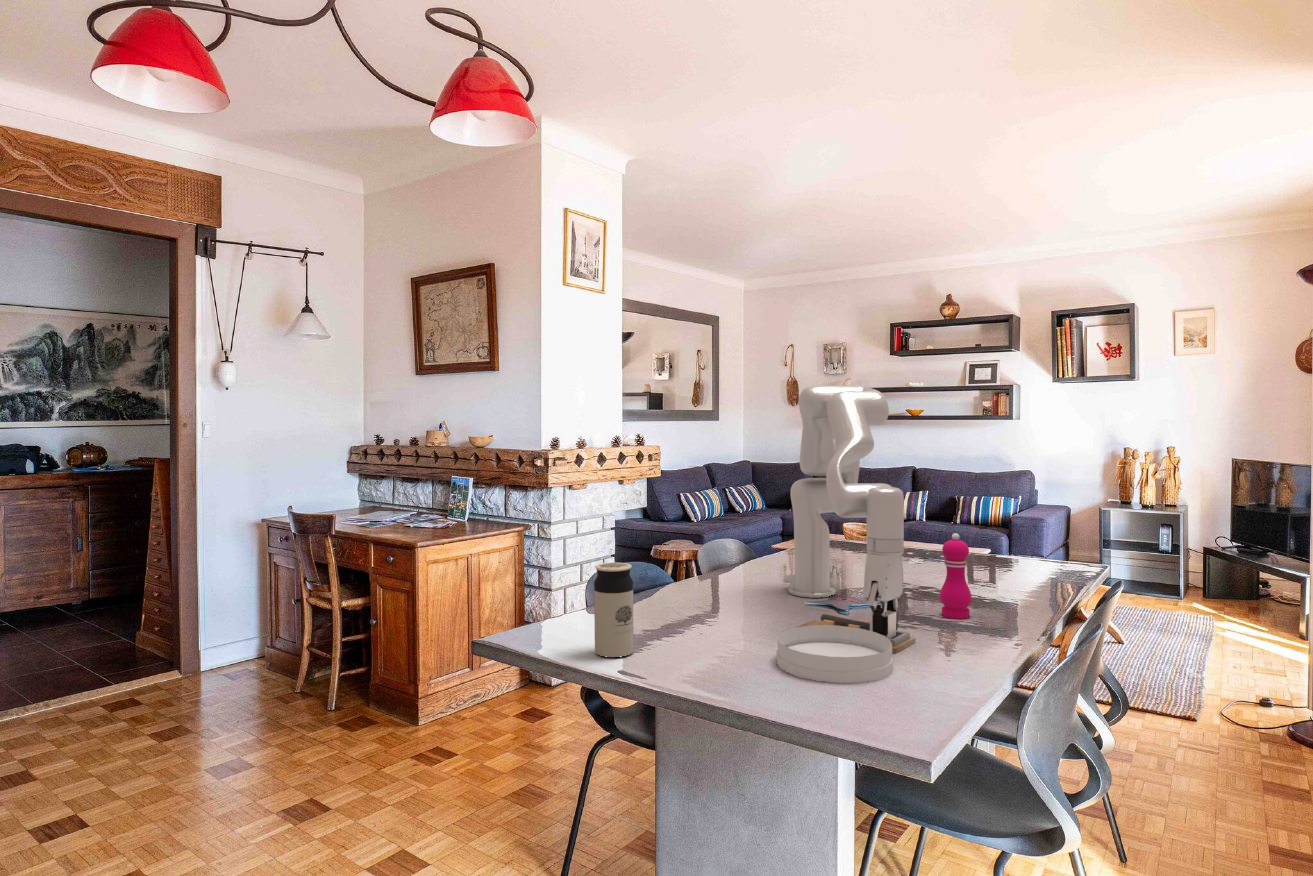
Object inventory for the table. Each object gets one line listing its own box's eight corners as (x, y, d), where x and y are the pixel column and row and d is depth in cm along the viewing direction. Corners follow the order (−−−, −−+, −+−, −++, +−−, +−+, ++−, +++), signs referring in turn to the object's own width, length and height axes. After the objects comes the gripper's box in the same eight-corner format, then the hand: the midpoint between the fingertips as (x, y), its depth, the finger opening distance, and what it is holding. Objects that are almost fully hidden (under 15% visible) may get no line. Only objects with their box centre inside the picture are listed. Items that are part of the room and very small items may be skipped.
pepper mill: (966, 612, 188) (966, 531, 188) (975, 619, 181) (975, 535, 181) (936, 611, 189) (936, 531, 189) (944, 619, 182) (944, 535, 181)
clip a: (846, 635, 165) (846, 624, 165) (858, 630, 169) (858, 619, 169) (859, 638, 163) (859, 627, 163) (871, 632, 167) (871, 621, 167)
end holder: (864, 640, 161) (864, 634, 161) (879, 633, 167) (879, 627, 167) (895, 646, 157) (895, 640, 157) (909, 638, 162) (909, 632, 162)
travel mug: (589, 650, 159) (588, 563, 159) (625, 645, 162) (624, 560, 162) (602, 661, 152) (601, 570, 152) (639, 655, 155) (638, 567, 155)
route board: (792, 633, 171) (792, 628, 171) (814, 623, 179) (814, 619, 179) (895, 653, 155) (895, 648, 155) (915, 642, 163) (915, 637, 163)
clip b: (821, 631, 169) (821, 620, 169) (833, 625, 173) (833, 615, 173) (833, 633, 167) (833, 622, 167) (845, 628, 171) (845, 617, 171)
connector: (816, 623, 171) (816, 601, 171) (825, 619, 174) (825, 598, 174) (887, 639, 160) (887, 615, 159) (895, 635, 163) (896, 612, 162)
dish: (818, 642, 165) (818, 619, 165) (914, 665, 149) (914, 639, 149) (753, 665, 149) (753, 640, 149) (853, 694, 133) (852, 665, 133)
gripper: (885, 539, 171) (885, 621, 171) (850, 549, 158) (850, 637, 158) (918, 542, 166) (918, 626, 166) (884, 552, 153) (885, 644, 153)
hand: (885, 631), depth 162 cm, fingers closed on connector, 4 cm apart
